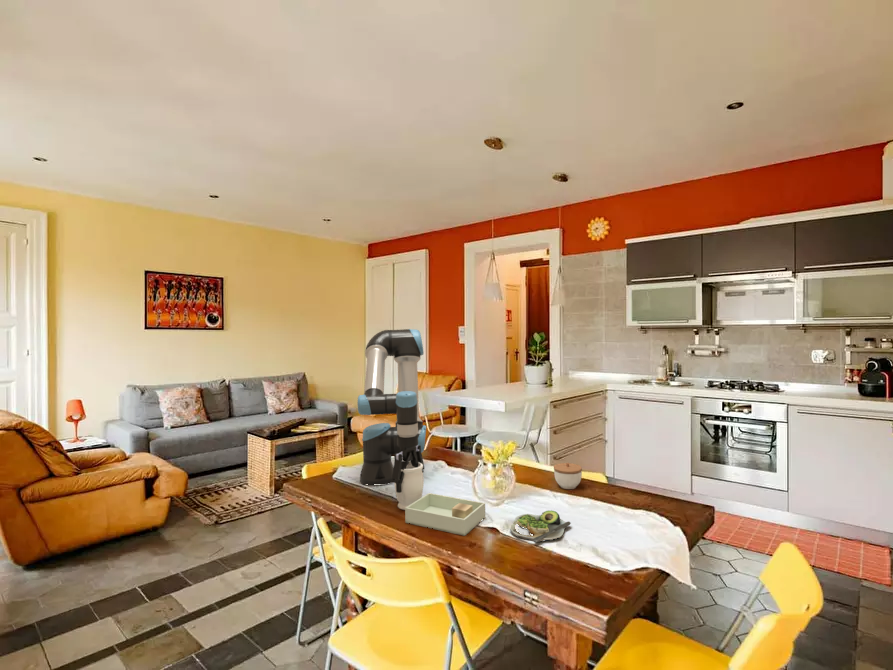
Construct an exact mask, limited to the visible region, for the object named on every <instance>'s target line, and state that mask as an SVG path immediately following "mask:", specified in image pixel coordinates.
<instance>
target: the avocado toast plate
mask: <svg viewBox="0 0 893 670" xmlns="http://www.w3.org/2000/svg"><path fill="white" fill-rule="evenodd" d="M516 524H518V525H519V526H522V527H524V528H527V529H528V530H527V529H526V530H527V531H528V532H529V533H531V534H533V536H529V535H530V534H523V533H521V532H520V531H519V532H520V533H521V534H520V533H519V532H517V531H516V529H515V525H516ZM571 524H572V522H570V521H564V520H563V519H562V518H560V514H559V513H558V512H557V511H555V510H545V511H543V512H542V514H539V515H537V514H531V513H525V514H520V515H517V516H516V517H515V518H514V520H513V522H512V524H511V526H510V528H509V529H510V532H511V534H513V535H515V536H516V537H517V536H518V538H520V539H522V540H525V539H530V540H529V541H533V542H534V543H539V542H540V541H542V542H544V541H543V540H550V541H554V540H553V539H555V540H558V539H557V538H559V539H560V538H561V537H563V534H564V533H565V532H564V531H565V529H566V528H567V527H569V526H570V525H571ZM524 528H523V529H524ZM540 543H541V542H540Z"/></svg>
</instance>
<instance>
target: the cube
mask: <svg viewBox="0 0 893 670" xmlns="http://www.w3.org/2000/svg"><path fill="white" fill-rule="evenodd" d="M472 512H473V506H472V505H467V504H462V503H459V504H457V505H456V506H454V507H453V508H452V517H457V518H462V519H464V518H465V517H467V516H468V515H469V514H470V513H472Z"/></svg>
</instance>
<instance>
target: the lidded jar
mask: <svg viewBox="0 0 893 670" xmlns="http://www.w3.org/2000/svg"><path fill="white" fill-rule="evenodd" d="M582 468H583V467H582V466H581V465H579V464H576V463H572V462H571V463H569V462H563V463H561V462H560V463H556V464H555V465H554V466H553V470H554V471H553V473H554V479H555V482H556V483H557V484H558V485H559V487H560V488H561V489H564V490H574V489H576V488H577V487H578V486H579V485H580V483H581V481H582V472H583V469H582Z"/></svg>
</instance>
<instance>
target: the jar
mask: <svg viewBox="0 0 893 670" xmlns="http://www.w3.org/2000/svg"><path fill="white" fill-rule="evenodd" d="M417 463H418V467H413V466H412V464H411V462H410V461H409V464H408V465H407V466H406V469H404V470H402V469H401V471H403V472H404V478H403V481H402V483H404V502H402V501H398V504H397V508H398V509H400V510H403V511H405V508H406V507H407V506H409V505H411V504H412V503H414V502H415V501H417V500H418V499H420V498H422V497H423V491H424V481H425V479H424V472H422V468H423V464H422V463H420V462H417ZM393 486H394V491H395V496H396V498H397V492H396V483H393Z"/></svg>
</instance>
